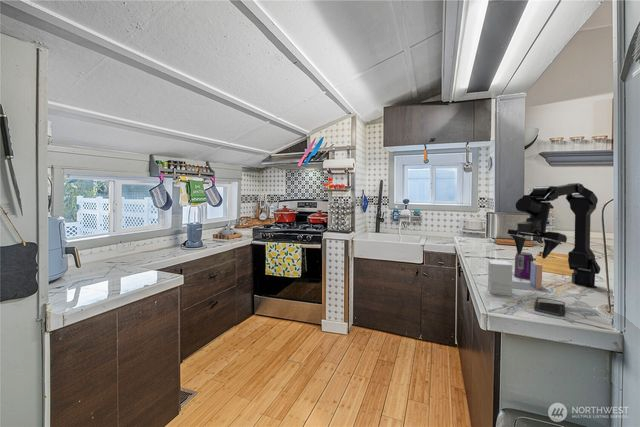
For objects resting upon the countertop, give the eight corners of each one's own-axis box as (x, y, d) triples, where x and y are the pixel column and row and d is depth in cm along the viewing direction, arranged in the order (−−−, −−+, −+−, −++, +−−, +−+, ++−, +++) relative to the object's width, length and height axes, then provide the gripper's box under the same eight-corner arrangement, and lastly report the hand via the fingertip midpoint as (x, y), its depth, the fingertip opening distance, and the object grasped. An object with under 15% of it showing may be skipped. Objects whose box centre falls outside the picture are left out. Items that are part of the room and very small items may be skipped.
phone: (534, 308, 95) (537, 296, 107) (533, 312, 95) (537, 299, 107) (564, 315, 90) (564, 301, 102) (564, 318, 90) (564, 304, 102)
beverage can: (535, 280, 130) (536, 255, 129) (518, 279, 131) (519, 254, 131) (527, 276, 137) (528, 252, 136) (511, 275, 138) (512, 251, 138)
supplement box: (508, 291, 115) (509, 261, 114) (511, 297, 108) (512, 265, 108) (487, 289, 118) (488, 259, 118) (489, 294, 112) (490, 263, 111)
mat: (538, 284, 124) (539, 283, 124) (550, 293, 112) (550, 292, 112) (501, 281, 128) (502, 280, 128) (509, 289, 117) (509, 288, 117)
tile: (536, 285, 121) (537, 262, 121) (541, 289, 116) (542, 265, 115) (529, 284, 122) (530, 261, 122) (535, 288, 117) (535, 264, 116)
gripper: (502, 211, 117) (494, 248, 116) (552, 214, 99) (543, 257, 99) (519, 217, 121) (512, 253, 120) (571, 220, 103) (562, 262, 103)
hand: (530, 256), depth 110 cm, fingers open, 9 cm apart
